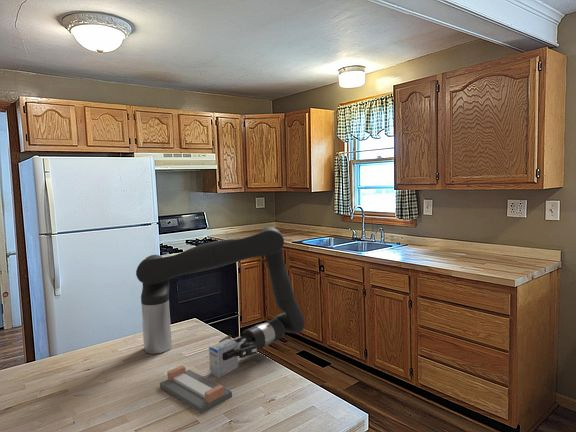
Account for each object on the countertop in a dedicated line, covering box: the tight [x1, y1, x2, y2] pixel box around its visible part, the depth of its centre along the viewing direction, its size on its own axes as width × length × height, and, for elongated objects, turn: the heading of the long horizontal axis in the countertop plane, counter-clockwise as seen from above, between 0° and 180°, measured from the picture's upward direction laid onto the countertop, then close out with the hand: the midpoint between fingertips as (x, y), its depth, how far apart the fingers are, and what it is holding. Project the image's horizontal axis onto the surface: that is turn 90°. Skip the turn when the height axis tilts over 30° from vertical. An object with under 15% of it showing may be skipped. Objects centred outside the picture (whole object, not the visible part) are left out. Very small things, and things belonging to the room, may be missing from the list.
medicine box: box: [208, 339, 239, 379], centre depth 122 cm, size 8×4×9 cm, turn 141°
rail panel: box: [159, 365, 233, 414], centre depth 111 cm, size 20×10×4 cm, turn 48°
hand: (218, 354), depth 120 cm, fingers closed on medicine box, 4 cm apart
